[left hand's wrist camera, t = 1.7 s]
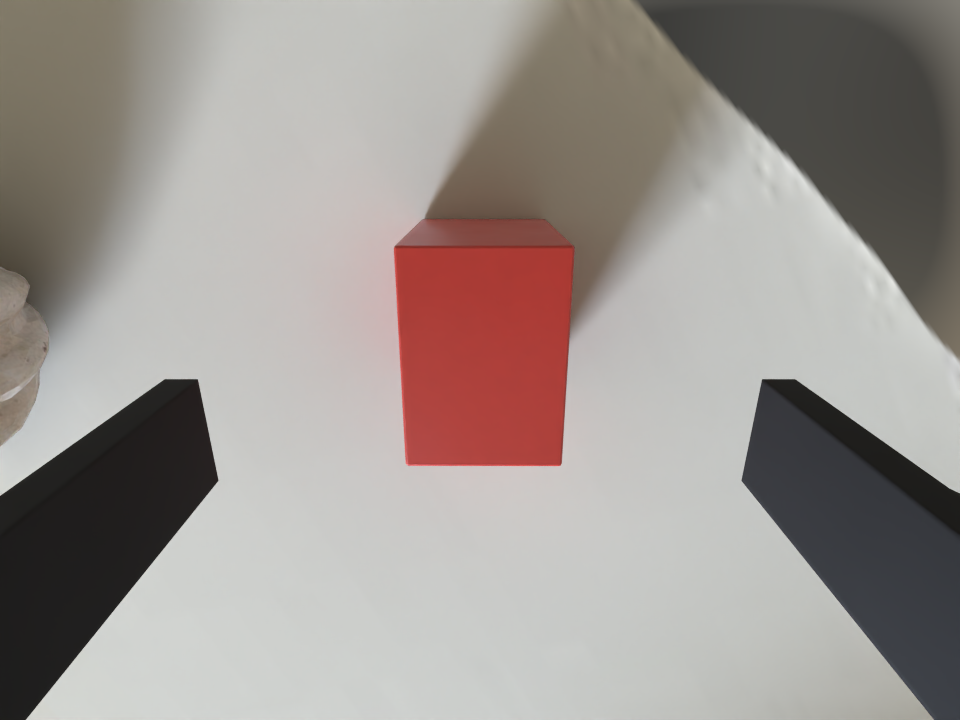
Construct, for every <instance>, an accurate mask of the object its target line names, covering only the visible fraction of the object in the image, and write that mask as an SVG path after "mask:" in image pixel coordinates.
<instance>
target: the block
mask: <svg viewBox="0 0 960 720" xmlns="http://www.w3.org/2000/svg"><path fill="white" fill-rule="evenodd" d="M574 253H575V248H574V246H573V245H572V244H571V243H570V242H569V241H568V240H567V239H565V238H564V237H563V236H562V235H561V234H560V233H559V232H558V231H557V230H556V229H555V228H554V227H553V226H551V225H550V224H549V223H548V222H547V221H546V220H545V219H423V220H421V221H420V222H419V223H418V224H417V225H416V226H415V227H414V228H413V229H412V230H411V231H410V232H409V233H408V234H407V235H406V236H405V237H404V238H403V239H402V240H401V241H400V242H399V243H398V244H397V245H396V246H395V247H394V259H395V277H396V295H397V313H398V331H399V349H400V367H401V385H402V403H403V421H404V439H405V457H406V464H407V465H408V466H560V465H561V464H562V449H563V433H564V417H565V400H566V384H567V367H568V351H569V335H570V318H571V302H572V286H573V269H574Z"/></svg>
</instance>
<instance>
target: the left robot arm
mask: <svg viewBox="0 0 960 720" xmlns="http://www.w3.org/2000/svg"><path fill="white" fill-rule="evenodd" d="M217 482H218V476H217V471H216V466H215V462H214V457H213V452H212V447H211V442H210V437H209V432H208V427H207V422H206V417H205V412H204V408H203V403H202V398H201V393H200V388H199V383H198V379H165V380H163V381H162V382H160V383H159V384H158V385H156V386H155V387H153V388H152V389H151V390H149V391H148V392H146V393H145V394H144V395H142V396H141V397H139V398H138V399H136V400H135V401H134V402H132V403H131V404H129V405H128V406H127V407H125V408H124V409H122V410H121V411H120V412H118V413H117V414H115V415H114V416H112V417H111V418H110V419H108V420H107V421H105V422H104V423H103V424H101V425H100V426H98V427H97V428H96V429H94V430H93V431H91V432H90V433H88V434H87V435H86V436H84V437H83V438H81V439H80V440H79V441H77V442H76V443H74V444H73V445H71V446H70V447H69V448H67V449H66V450H64V451H63V452H62V453H60V454H59V455H57V456H56V457H55V458H53V459H52V460H50V461H49V462H47V463H46V464H45V465H43V466H42V467H40V468H39V469H38V470H36V471H35V472H33V473H32V474H31V475H29V476H28V477H26V478H25V479H23V480H22V481H21V482H19V483H18V484H16V485H15V486H14V487H12V488H11V489H9V490H8V491H7V492H5V493H4V494H2V495H1V496H0V720H26V719H27V717H28V716H29V715H30V714H31V713H32V711H33V710H34V709H35V708H36V706H37V705H38V704H39V703H40V701H41V700H42V699H43V698H44V696H45V695H46V694H47V693H48V691H49V690H50V689H51V688H52V686H53V685H54V684H55V683H56V682H57V680H58V679H59V678H60V677H61V675H62V674H63V673H64V672H65V670H66V669H67V668H68V667H69V665H70V664H71V663H72V662H73V660H74V659H75V658H76V657H77V655H78V654H79V653H80V652H81V651H82V649H83V648H84V647H85V646H86V644H87V643H88V642H89V641H90V639H91V638H92V637H93V636H94V634H95V633H96V632H97V631H98V629H99V628H100V627H101V626H102V624H103V623H104V622H105V621H106V619H107V618H108V617H109V616H110V615H111V613H112V612H113V611H114V610H115V608H116V607H117V606H118V605H119V603H120V602H121V601H122V600H123V598H124V597H125V596H126V595H127V593H128V592H129V591H130V590H131V588H132V587H133V586H134V585H135V584H136V582H137V581H138V580H139V579H140V577H141V576H142V575H143V574H144V572H145V571H146V570H147V569H148V567H149V566H150V565H151V564H152V562H153V561H154V560H155V559H156V557H157V556H158V555H159V554H160V553H161V551H162V550H163V549H164V548H165V546H166V545H167V544H168V543H169V541H170V540H171V539H172V538H173V536H174V535H175V534H176V533H177V531H178V530H179V529H180V528H181V526H182V525H183V524H184V523H185V521H186V520H187V519H188V518H189V517H190V515H191V514H192V513H193V512H194V510H195V509H196V508H197V507H198V505H199V504H200V503H201V502H202V500H203V499H204V498H205V497H206V495H207V494H208V493H209V492H210V490H211V489H212V488H213V487H214V486H215V484H216V483H217ZM742 482H743V483H744V484H745V486H746V487H747V488H748V489H749V490H750V492H751V493H752V494H753V495H754V497H755V498H756V499H757V500H758V502H759V503H760V504H761V505H762V507H763V508H764V509H765V510H766V512H767V513H768V514H769V515H770V517H771V518H772V519H773V520H774V522H775V523H776V524H777V525H778V526H779V528H780V529H781V530H782V531H783V533H784V534H785V535H786V536H787V538H788V539H789V540H790V541H791V543H792V544H793V545H794V546H795V548H796V549H797V550H798V551H799V553H800V554H801V555H802V556H803V557H804V559H805V560H806V561H807V562H808V564H809V565H810V566H811V567H812V569H813V570H814V571H815V572H816V574H817V575H818V576H819V577H820V579H821V580H822V581H823V582H824V584H825V585H826V586H827V587H828V588H829V590H830V591H831V592H832V593H833V595H834V596H835V597H836V598H837V600H838V601H839V602H840V603H841V605H842V606H843V607H844V608H845V610H846V611H847V612H848V613H849V615H850V616H851V617H852V618H853V619H854V621H855V622H856V623H857V624H858V626H859V627H860V628H861V629H862V631H863V632H864V633H865V634H866V636H867V637H868V638H869V639H870V641H871V642H872V643H873V644H874V646H875V647H876V648H877V649H878V651H879V652H880V653H881V654H882V655H883V657H884V658H885V659H886V660H887V662H888V663H889V664H890V665H891V667H892V668H893V669H894V670H895V672H896V673H897V674H898V675H899V677H900V678H901V679H902V680H903V682H904V683H905V684H906V685H907V686H908V688H909V689H910V690H911V691H912V693H913V694H914V695H915V696H916V698H917V699H918V700H919V701H920V703H921V704H922V705H923V706H924V708H925V709H926V710H927V711H928V713H929V714H930V715H931V716H932V717H933V719H934V720H960V493H958V492H955V491H953V490H951V489H949V488H948V487H946V486H945V485H944V484H942V483H941V482H939V481H938V480H937V479H935V478H934V477H932V476H931V475H929V474H928V473H927V472H925V471H924V470H922V469H921V468H920V467H918V466H917V465H915V464H914V463H913V462H911V461H910V460H908V459H907V458H905V457H904V456H903V455H901V454H900V453H898V452H897V451H896V450H894V449H893V448H891V447H890V446H889V445H887V444H886V443H884V442H883V441H881V440H880V439H879V438H877V437H876V436H874V435H873V434H872V433H870V432H869V431H867V430H866V429H864V428H863V427H862V426H860V425H859V424H857V423H856V422H855V421H853V420H852V419H850V418H849V417H848V416H846V415H845V414H843V413H842V412H840V411H839V410H838V409H836V408H835V407H833V406H832V405H831V404H829V403H828V402H826V401H825V400H824V399H822V398H821V397H819V396H818V395H816V394H815V393H814V392H812V391H811V390H809V389H808V388H807V387H805V386H804V385H802V384H801V383H800V382H798V381H797V380H795V379H762V383H761V388H760V393H759V398H758V403H757V408H756V412H755V417H754V422H753V427H752V432H751V437H750V442H749V447H748V452H747V457H746V461H745V466H744V471H743V476H742Z"/></svg>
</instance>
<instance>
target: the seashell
mask: <svg viewBox="0 0 960 720" xmlns="http://www.w3.org/2000/svg"><path fill="white" fill-rule="evenodd" d="M29 288H30V285H29V284H28V282H27V280H26V279H25V278H24V277H23V276H21V275H19V274H18V273H16V272H12V271H8V270H6V269H4V268H2V267H0V446H2V445H3V444H4V443H5V442H6V441H7V440H9V439H10V438H11V437H12V436H13V435H14V434H15V433H17V432H18V431H19V430H20V429H21V428H22V426H23V424H24V423H25V421H26V419H27V417H28V415H29V413H30V411H31V409H32V407H33V405H34V403H35V400H36V396H37V392H38V388H39V371H40V368H41V366H42V364H43V361H44V359H45V357H46V355H47V353H48V348H49V331H48V329H47V326H46V324H45V322H44V319H43V318H42V317H41V315H40V314H39V312H38V311H37V310H36V309H35V308H34V307H33V306H32V305H31V304H29V303H27V302H25V301H26V298H27V295H28V292H29Z"/></svg>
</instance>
